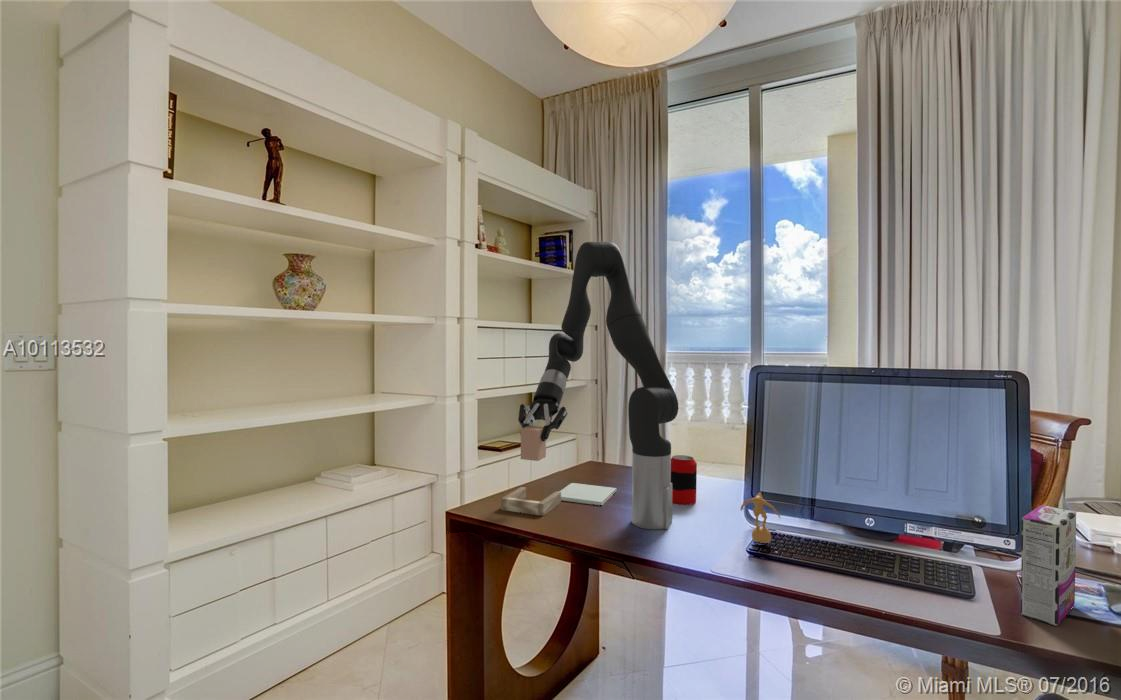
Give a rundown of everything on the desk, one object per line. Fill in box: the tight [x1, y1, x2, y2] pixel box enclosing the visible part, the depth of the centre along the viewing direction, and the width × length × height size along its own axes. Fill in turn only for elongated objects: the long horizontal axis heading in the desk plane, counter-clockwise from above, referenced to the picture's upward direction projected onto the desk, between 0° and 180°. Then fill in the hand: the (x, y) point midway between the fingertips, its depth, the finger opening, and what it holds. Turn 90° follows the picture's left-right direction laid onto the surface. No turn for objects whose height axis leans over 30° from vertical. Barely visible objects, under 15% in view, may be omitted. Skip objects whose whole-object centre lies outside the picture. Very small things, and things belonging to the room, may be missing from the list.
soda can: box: [671, 454, 698, 506], centre depth 148 cm, size 8×8×12 cm
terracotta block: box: [520, 425, 547, 462], centre depth 142 cm, size 5×5×8 cm
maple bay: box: [500, 486, 562, 517], centre depth 142 cm, size 12×12×3 cm
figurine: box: [740, 492, 781, 544], centre depth 116 cm, size 8×6×12 cm
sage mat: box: [559, 482, 618, 506], centre depth 152 cm, size 14×14×1 cm
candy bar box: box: [1020, 504, 1077, 627], centre depth 89 cm, size 11×5×16 cm, turn 126°
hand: (533, 438), depth 142 cm, fingers closed on terracotta block, 5 cm apart
